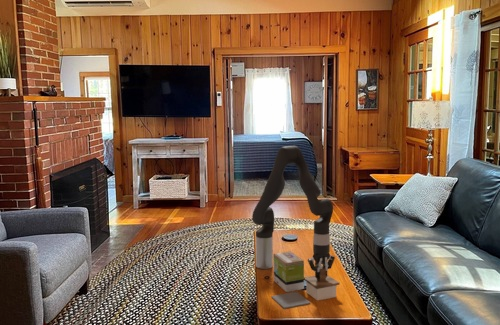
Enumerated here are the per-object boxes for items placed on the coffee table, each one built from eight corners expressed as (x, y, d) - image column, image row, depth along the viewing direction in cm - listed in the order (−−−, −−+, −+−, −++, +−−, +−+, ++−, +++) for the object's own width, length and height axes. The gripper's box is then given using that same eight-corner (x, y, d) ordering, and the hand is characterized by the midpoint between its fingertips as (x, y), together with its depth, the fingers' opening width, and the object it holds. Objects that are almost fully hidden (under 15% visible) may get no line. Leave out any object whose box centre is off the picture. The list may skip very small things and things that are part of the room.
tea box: (273, 281, 222) (272, 253, 221) (291, 278, 226) (290, 250, 224) (285, 292, 208) (285, 262, 207) (304, 289, 212) (304, 259, 210)
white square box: (306, 292, 208) (306, 280, 208) (324, 288, 212) (324, 276, 211) (317, 300, 199) (317, 287, 198) (336, 296, 203) (336, 284, 202)
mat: (271, 297, 203) (271, 296, 203) (296, 292, 208) (296, 291, 208) (284, 308, 191) (284, 307, 191) (310, 303, 196) (310, 302, 196)
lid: (303, 279, 208) (303, 265, 207) (325, 275, 213) (325, 261, 212) (316, 289, 197) (316, 273, 196) (339, 284, 202) (339, 270, 201)
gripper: (330, 238, 209) (329, 273, 211) (304, 241, 204) (303, 277, 206) (339, 242, 202) (338, 278, 204) (312, 246, 197) (312, 283, 199)
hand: (321, 278), depth 205 cm, fingers closed on lid, 3 cm apart
